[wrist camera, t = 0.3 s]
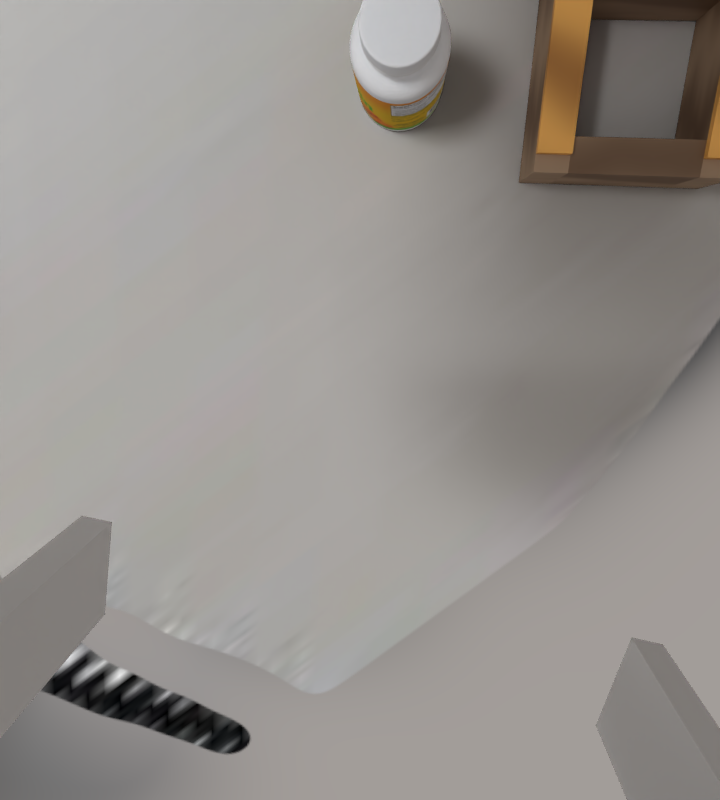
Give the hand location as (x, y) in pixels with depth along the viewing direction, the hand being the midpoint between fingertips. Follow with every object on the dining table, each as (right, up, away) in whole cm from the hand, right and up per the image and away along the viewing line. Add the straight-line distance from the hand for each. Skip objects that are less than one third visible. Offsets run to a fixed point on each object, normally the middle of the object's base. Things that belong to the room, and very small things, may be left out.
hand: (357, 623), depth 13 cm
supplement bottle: (+3, +26, +21) cm, 34 cm away
